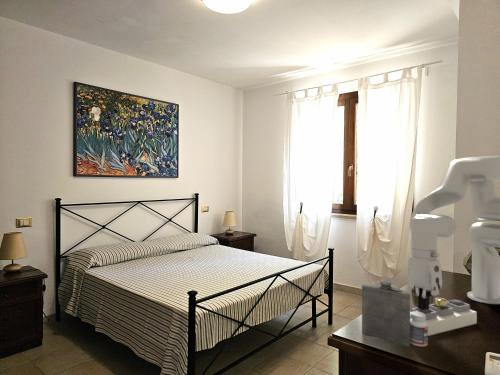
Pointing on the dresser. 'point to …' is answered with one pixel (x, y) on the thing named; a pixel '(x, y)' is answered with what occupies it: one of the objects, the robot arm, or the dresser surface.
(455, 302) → the button
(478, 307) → the dresser surface
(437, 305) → the brass knob
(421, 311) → the button
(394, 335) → the flask
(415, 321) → the pill bottle
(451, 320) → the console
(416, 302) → the olive hollow bell-shaped piece
